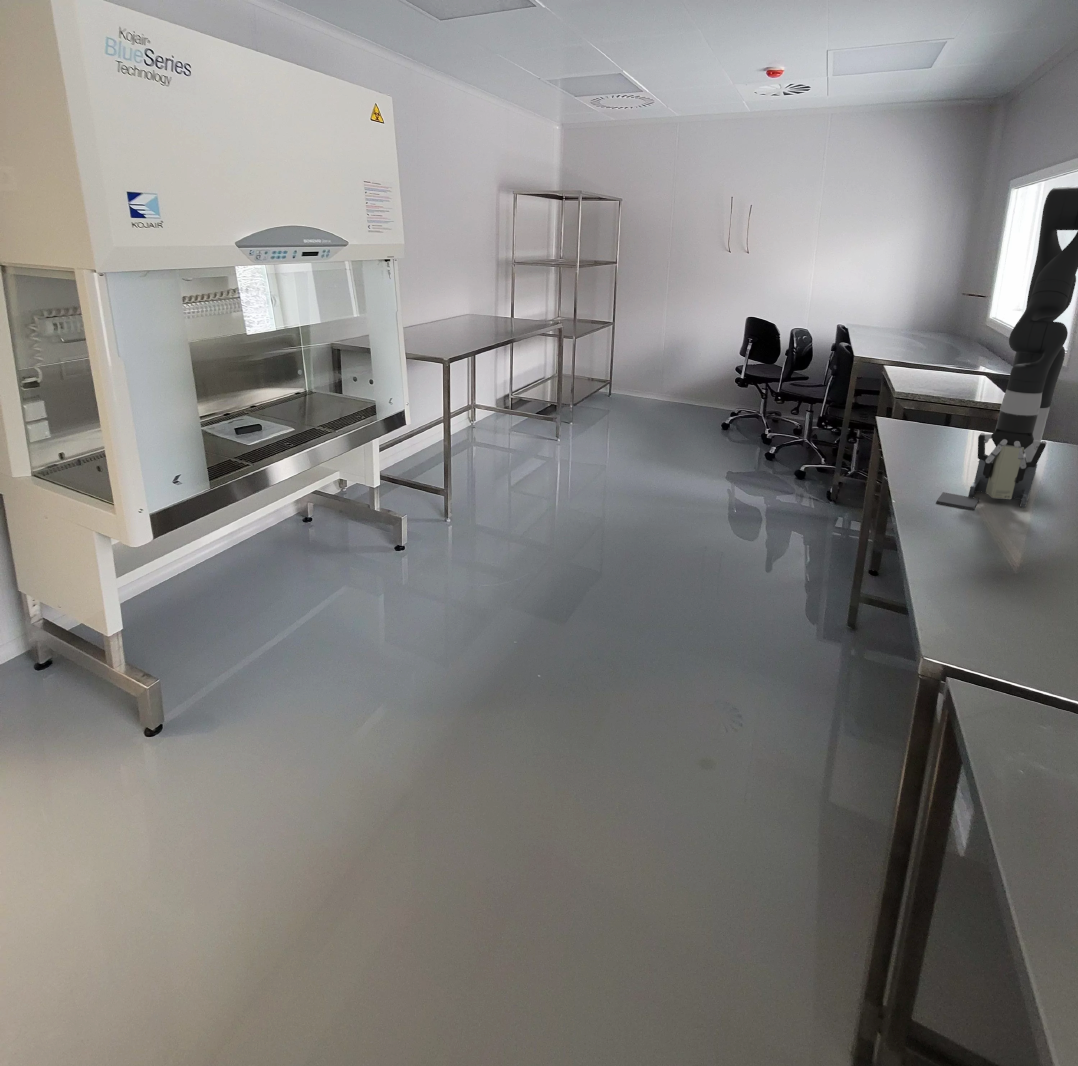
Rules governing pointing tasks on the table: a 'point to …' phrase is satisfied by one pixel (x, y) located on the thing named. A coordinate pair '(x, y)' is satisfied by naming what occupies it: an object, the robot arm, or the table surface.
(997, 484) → the box
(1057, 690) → the table surface
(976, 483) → the rack bay
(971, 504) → the mat
